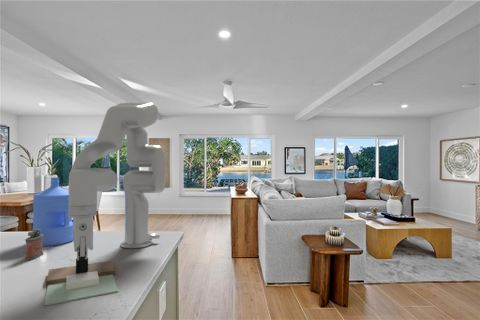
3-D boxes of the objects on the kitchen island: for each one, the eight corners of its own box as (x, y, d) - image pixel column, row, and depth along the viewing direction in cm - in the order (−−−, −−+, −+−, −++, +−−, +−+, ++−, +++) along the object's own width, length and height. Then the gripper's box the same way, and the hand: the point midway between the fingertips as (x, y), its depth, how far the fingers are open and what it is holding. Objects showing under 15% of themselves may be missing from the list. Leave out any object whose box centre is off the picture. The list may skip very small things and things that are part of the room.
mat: (113, 275, 92) (113, 274, 92) (118, 291, 81) (118, 290, 81) (48, 286, 84) (48, 284, 84) (43, 306, 72) (43, 304, 72)
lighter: (36, 253, 113) (36, 227, 113) (45, 253, 113) (45, 227, 113) (22, 260, 105) (22, 232, 105) (32, 260, 105) (32, 232, 105)
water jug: (22, 245, 124) (23, 178, 124) (54, 236, 139) (54, 176, 139) (54, 248, 120) (55, 179, 120) (82, 238, 136) (83, 177, 136)
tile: (97, 276, 90) (97, 271, 90) (98, 284, 85) (98, 277, 85) (66, 282, 86) (66, 275, 86) (66, 289, 81) (66, 283, 81)
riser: (111, 265, 101) (111, 260, 101) (114, 275, 92) (114, 270, 92) (48, 274, 93) (49, 269, 93) (46, 286, 84) (46, 280, 84)
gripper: (98, 213, 84) (97, 278, 84) (95, 206, 97) (94, 262, 97) (67, 215, 80) (66, 283, 80) (69, 208, 93) (68, 266, 93)
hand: (81, 272), depth 88 cm, fingers closed
